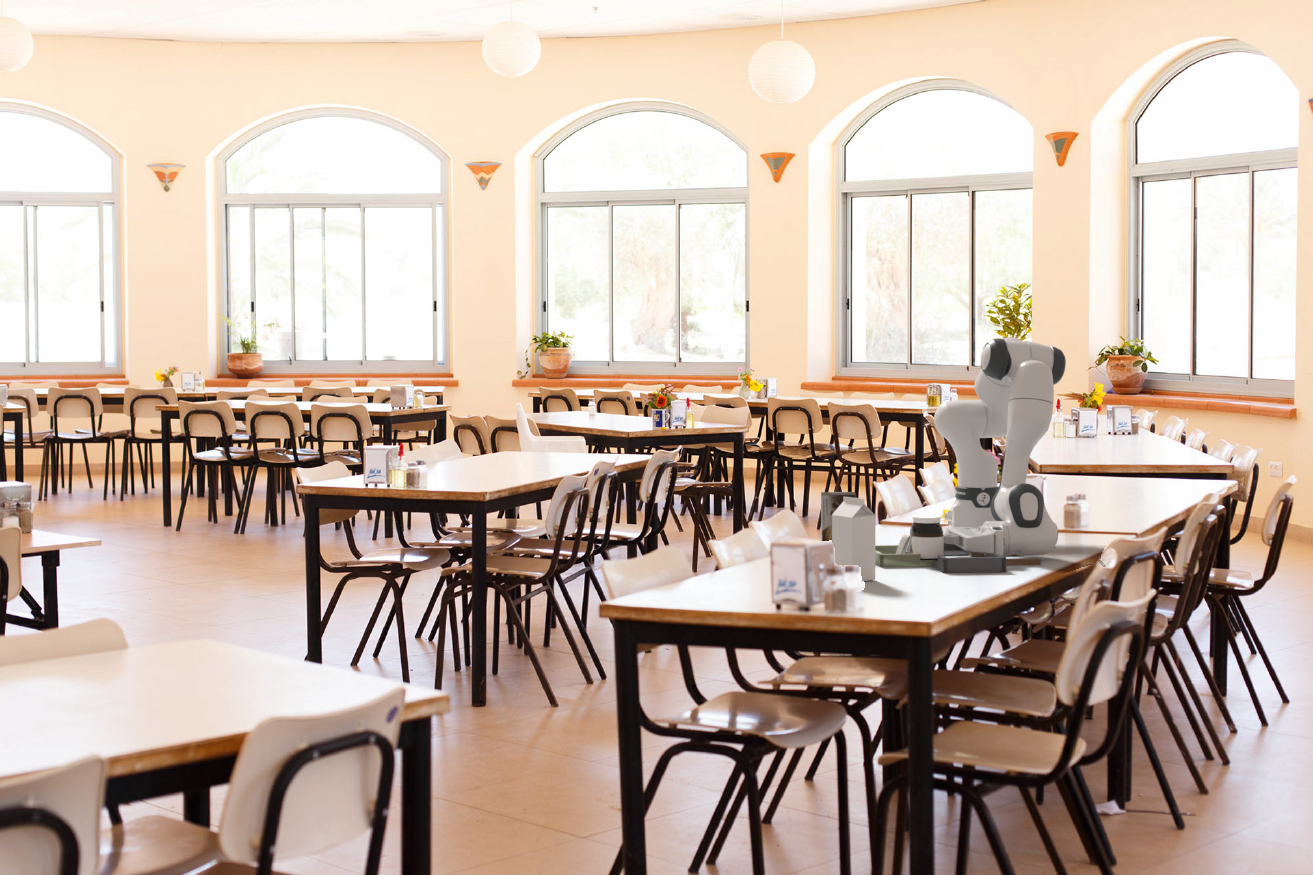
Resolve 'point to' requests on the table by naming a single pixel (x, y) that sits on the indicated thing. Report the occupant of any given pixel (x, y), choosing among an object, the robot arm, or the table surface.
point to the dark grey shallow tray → (970, 564)
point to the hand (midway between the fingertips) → (937, 539)
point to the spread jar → (924, 538)
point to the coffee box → (830, 510)
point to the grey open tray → (951, 550)
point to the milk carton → (854, 536)
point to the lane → (889, 558)
